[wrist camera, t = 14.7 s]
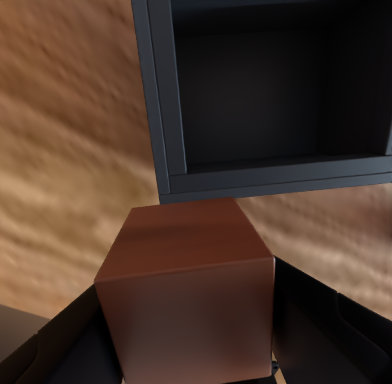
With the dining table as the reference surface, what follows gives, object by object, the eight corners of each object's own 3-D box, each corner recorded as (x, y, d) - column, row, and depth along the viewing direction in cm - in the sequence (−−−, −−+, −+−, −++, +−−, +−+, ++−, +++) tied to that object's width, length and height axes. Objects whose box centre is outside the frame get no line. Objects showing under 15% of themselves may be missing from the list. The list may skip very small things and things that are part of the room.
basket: (406, 181, 11) (467, -71, 8) (160, 206, 11) (122, -54, 8) (315, 157, 19) (328, 21, 16) (168, 171, 18) (151, 33, 15)
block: (236, 277, 10) (272, 377, 6) (148, 288, 10) (128, 399, 6) (233, 195, 8) (276, 257, 5) (131, 207, 8) (91, 280, 4)
